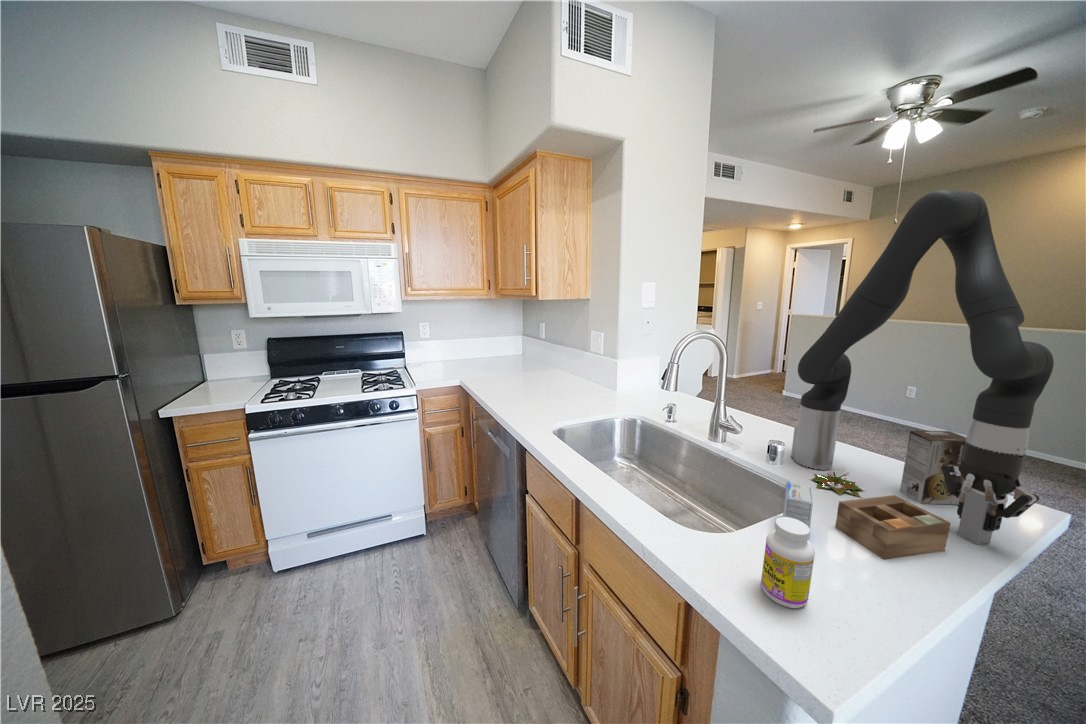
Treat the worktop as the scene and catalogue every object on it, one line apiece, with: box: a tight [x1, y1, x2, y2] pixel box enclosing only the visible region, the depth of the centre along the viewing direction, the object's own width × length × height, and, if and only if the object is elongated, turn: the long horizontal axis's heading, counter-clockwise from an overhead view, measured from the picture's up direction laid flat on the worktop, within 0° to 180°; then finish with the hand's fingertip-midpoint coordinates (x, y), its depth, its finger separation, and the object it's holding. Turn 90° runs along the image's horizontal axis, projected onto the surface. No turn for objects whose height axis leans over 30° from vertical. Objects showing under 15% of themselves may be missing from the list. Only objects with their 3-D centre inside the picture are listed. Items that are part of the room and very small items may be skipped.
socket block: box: [834, 494, 952, 560], centre depth 76 cm, size 10×14×6 cm
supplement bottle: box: [760, 516, 816, 609], centre depth 61 cm, size 7×7×13 cm
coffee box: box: [899, 430, 966, 506], centre depth 90 cm, size 9×6×16 cm
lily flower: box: [812, 467, 865, 498], centre depth 97 cm, size 12×12×5 cm
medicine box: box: [782, 481, 813, 541], centre depth 79 cm, size 8×4×9 cm, turn 148°
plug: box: [956, 488, 998, 545], centre depth 75 cm, size 3×3×11 cm
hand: (976, 524), depth 76 cm, fingers closed on plug, 3 cm apart
